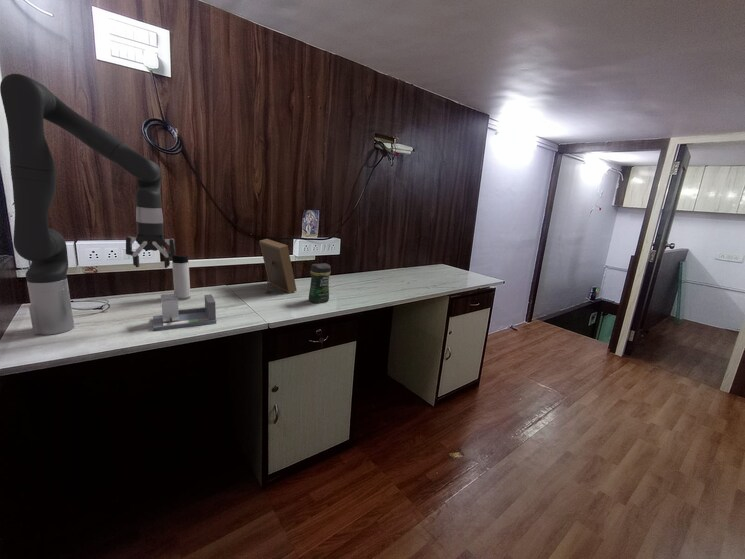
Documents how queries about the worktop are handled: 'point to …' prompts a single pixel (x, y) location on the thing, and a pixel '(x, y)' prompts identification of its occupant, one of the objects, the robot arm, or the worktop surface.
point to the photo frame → (278, 265)
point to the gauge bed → (189, 316)
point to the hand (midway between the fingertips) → (152, 267)
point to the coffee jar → (319, 282)
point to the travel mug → (181, 276)
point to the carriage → (170, 307)
